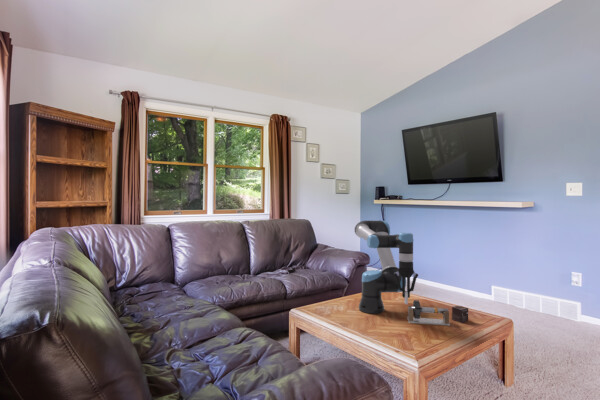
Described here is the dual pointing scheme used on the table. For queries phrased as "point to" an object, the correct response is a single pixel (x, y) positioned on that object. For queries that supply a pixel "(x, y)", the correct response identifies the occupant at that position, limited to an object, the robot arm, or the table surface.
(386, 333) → the table surface
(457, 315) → the box
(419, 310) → the grey hex nut
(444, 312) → the pipe rig
